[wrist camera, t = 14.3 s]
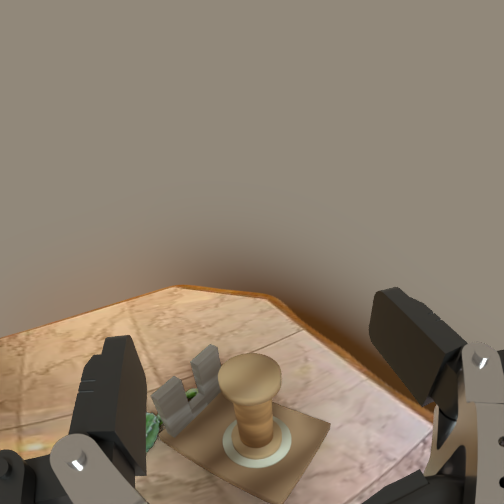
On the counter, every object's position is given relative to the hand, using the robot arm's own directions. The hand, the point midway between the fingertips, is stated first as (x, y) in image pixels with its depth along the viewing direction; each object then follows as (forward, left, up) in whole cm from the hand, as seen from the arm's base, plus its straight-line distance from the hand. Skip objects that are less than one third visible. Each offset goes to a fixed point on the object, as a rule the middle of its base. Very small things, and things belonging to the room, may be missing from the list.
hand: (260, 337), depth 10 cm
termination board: (-11, +11, -30) cm, 33 cm away
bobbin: (-9, +11, -28) cm, 31 cm away
